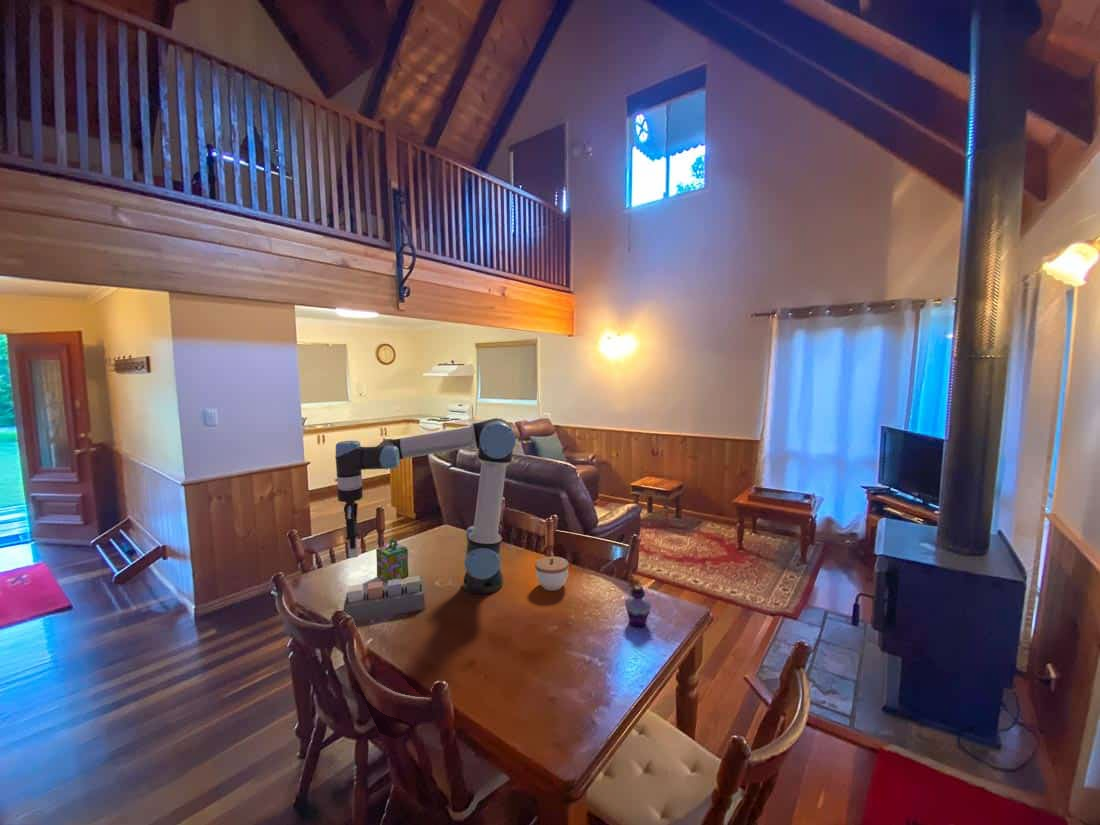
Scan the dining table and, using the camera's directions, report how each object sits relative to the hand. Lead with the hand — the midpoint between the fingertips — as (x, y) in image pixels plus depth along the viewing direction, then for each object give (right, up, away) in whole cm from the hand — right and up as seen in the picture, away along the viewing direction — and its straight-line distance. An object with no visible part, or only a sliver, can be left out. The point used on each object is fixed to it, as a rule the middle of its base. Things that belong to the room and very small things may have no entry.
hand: (353, 556), depth 153 cm
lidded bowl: (+67, -18, +19) cm, 72 cm away
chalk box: (+3, -18, +30) cm, 35 cm away
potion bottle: (+94, -19, -7) cm, 96 cm away
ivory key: (0, -16, +2) cm, 16 cm away
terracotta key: (+6, -16, +3) cm, 18 cm away
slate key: (+12, -16, +5) cm, 21 cm away
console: (+9, -20, +5) cm, 22 cm away
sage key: (+18, -16, +7) cm, 25 cm away
